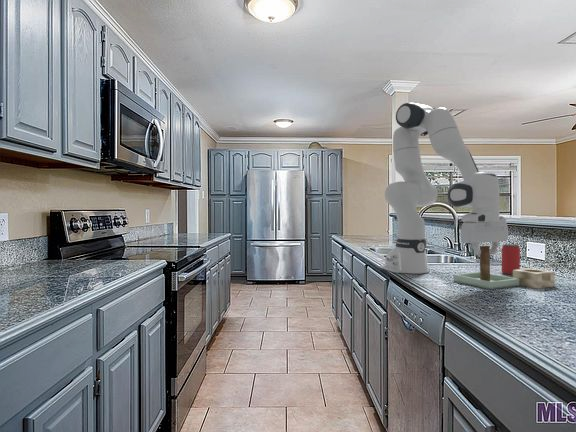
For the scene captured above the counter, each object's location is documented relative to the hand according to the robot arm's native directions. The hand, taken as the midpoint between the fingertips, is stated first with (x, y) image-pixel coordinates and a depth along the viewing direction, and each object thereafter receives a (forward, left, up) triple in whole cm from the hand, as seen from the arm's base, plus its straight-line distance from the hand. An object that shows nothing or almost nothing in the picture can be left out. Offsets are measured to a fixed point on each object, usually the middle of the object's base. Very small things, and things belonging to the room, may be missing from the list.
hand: (485, 254), depth 138 cm
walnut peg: (0, 0, -10) cm, 10 cm away
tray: (0, 0, -11) cm, 11 cm away
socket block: (+9, +13, -11) cm, 19 cm away
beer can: (-10, +27, -11) cm, 31 cm away
